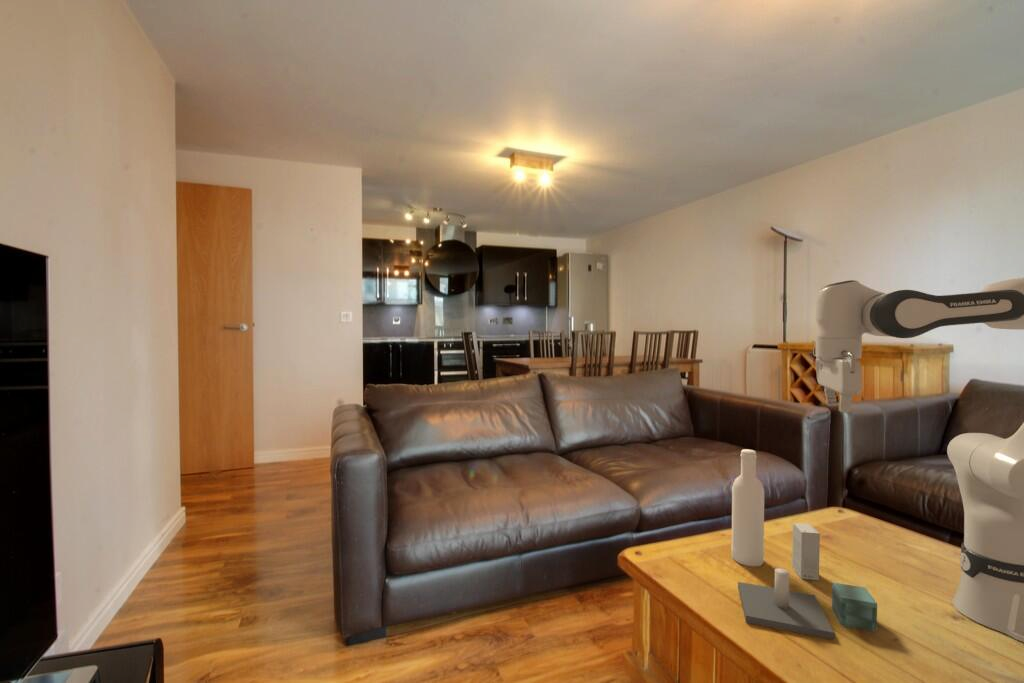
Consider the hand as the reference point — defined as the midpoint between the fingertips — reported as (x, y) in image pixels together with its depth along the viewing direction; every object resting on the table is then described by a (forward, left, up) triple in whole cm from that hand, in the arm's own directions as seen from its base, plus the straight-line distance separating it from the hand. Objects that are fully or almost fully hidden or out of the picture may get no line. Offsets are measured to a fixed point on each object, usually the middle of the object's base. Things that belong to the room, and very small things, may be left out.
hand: (837, 408), depth 108 cm
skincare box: (+4, -7, -44) cm, 45 cm away
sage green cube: (-1, +11, -44) cm, 45 cm away
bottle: (+17, -10, -44) cm, 49 cm away
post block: (+13, +13, -44) cm, 48 cm away
